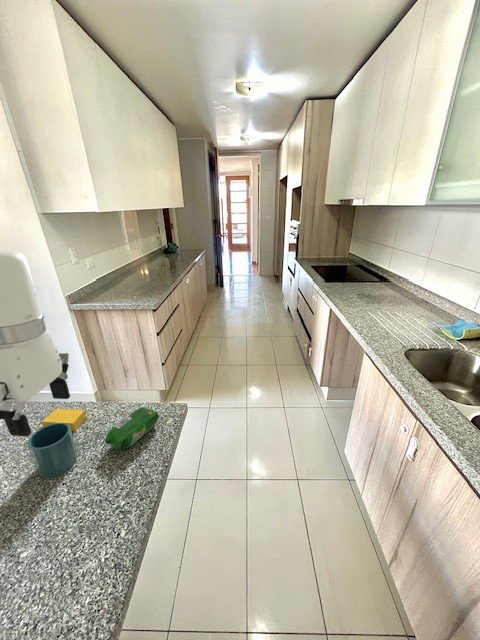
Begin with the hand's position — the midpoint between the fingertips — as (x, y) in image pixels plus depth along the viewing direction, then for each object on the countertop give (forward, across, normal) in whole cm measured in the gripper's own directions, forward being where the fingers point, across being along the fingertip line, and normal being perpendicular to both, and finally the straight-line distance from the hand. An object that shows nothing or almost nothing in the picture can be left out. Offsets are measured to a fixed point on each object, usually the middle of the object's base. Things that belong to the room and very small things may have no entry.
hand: (43, 414), depth 48 cm
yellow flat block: (+23, -21, -16) cm, 35 cm away
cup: (+23, -8, -9) cm, 26 cm away
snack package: (+23, -18, +6) cm, 30 cm away
